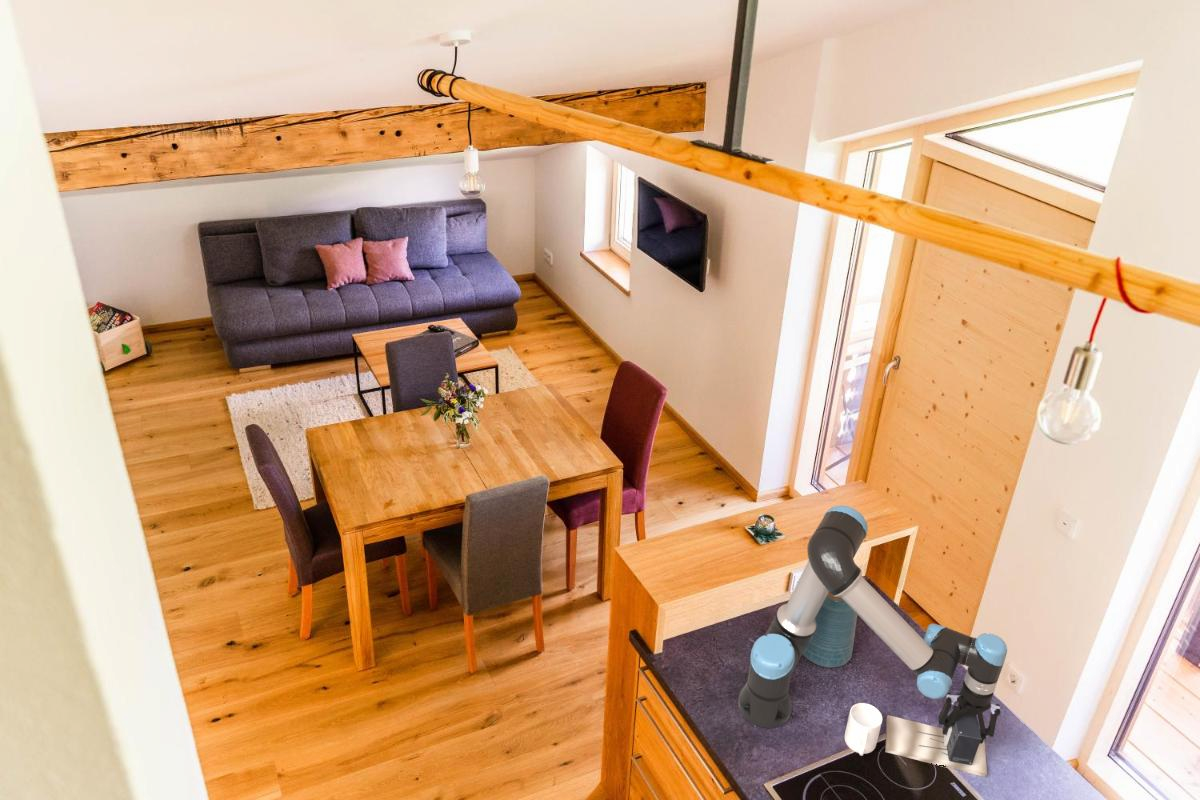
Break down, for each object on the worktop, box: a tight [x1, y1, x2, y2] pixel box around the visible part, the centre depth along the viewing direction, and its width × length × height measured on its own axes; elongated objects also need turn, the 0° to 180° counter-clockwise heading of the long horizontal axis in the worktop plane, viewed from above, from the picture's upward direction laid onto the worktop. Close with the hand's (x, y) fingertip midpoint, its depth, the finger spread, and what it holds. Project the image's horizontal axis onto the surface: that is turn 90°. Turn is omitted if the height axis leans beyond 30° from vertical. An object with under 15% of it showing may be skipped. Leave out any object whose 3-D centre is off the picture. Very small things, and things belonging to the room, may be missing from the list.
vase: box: [802, 592, 858, 668], centre depth 270 cm, size 16×16×27 cm
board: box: [884, 714, 988, 778], centre depth 245 cm, size 26×12×2 cm, turn 73°
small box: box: [947, 704, 981, 765], centre depth 241 cm, size 11×6×10 cm, turn 168°
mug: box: [844, 702, 883, 757], centre depth 242 cm, size 9×12×11 cm
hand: (959, 745), depth 243 cm, fingers closed on small box, 7 cm apart
